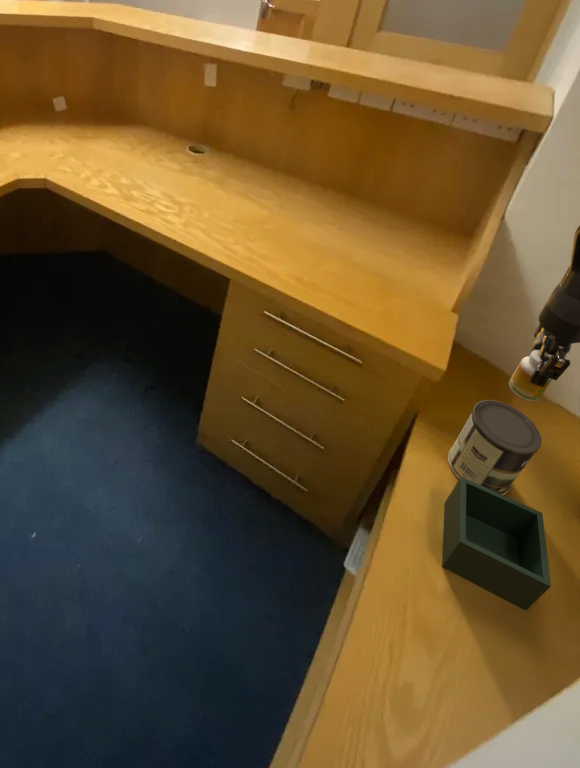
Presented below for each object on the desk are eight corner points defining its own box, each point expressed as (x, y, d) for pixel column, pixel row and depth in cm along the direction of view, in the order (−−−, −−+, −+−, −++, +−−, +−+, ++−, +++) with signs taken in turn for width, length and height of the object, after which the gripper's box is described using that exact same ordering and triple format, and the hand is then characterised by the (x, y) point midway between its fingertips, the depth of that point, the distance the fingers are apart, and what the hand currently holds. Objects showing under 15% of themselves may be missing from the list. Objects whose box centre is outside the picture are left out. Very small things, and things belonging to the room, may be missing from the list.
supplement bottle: (535, 407, 100) (557, 374, 95) (504, 389, 103) (523, 357, 98) (543, 391, 103) (564, 358, 98) (512, 374, 106) (531, 342, 101)
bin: (520, 538, 87) (542, 512, 82) (526, 611, 78) (550, 586, 74) (444, 502, 92) (461, 476, 87) (441, 566, 83) (460, 541, 78)
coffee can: (511, 464, 98) (543, 420, 90) (506, 509, 91) (540, 465, 83) (451, 433, 103) (477, 389, 96) (442, 474, 96) (469, 430, 89)
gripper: (607, 344, 85) (562, 408, 93) (592, 293, 95) (553, 355, 104) (552, 327, 88) (514, 391, 96) (543, 280, 98) (510, 340, 107)
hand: (534, 372), depth 100 cm, fingers closed on supplement bottle, 5 cm apart
